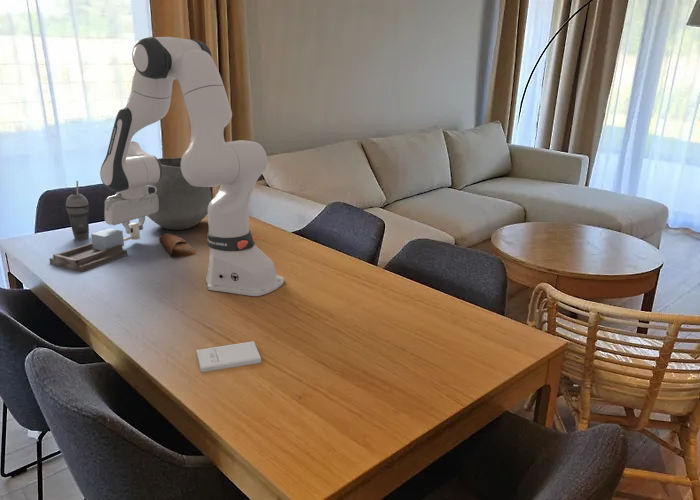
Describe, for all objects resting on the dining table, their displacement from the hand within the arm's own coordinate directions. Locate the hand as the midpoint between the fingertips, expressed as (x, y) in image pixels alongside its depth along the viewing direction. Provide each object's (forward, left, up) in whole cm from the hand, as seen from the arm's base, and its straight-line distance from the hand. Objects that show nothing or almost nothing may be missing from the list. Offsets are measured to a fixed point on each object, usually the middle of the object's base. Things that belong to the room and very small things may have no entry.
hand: (134, 231), depth 189 cm
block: (0, +6, -2) cm, 7 cm away
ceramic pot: (+1, -22, -4) cm, 22 cm away
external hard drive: (-76, +45, -5) cm, 88 cm away
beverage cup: (+20, +5, -4) cm, 21 cm away
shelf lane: (0, +18, -4) cm, 19 cm away
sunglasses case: (-16, -3, -5) cm, 17 cm away
